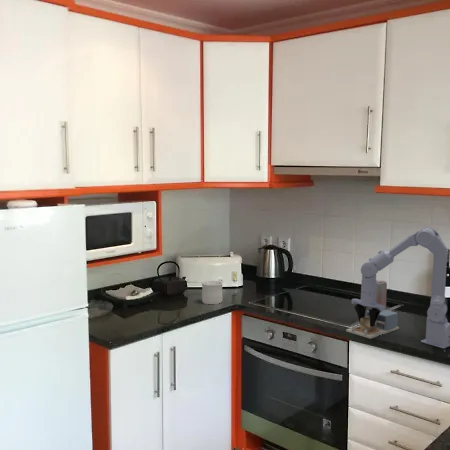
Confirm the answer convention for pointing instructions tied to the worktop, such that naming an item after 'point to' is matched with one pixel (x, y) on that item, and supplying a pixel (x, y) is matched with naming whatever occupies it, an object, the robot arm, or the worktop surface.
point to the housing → (387, 318)
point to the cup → (212, 292)
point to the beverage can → (381, 292)
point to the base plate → (372, 334)
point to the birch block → (366, 324)
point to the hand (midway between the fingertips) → (367, 324)
